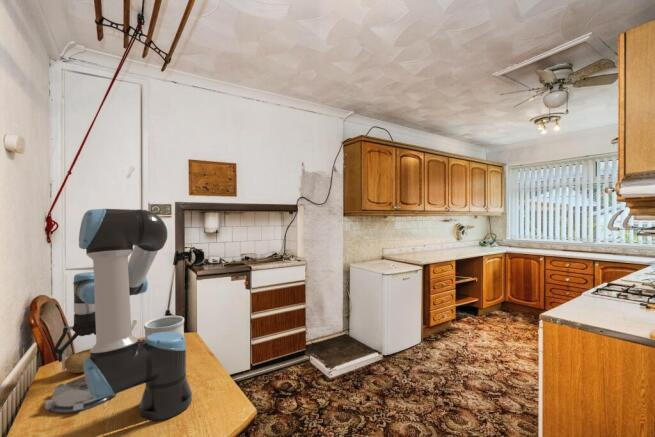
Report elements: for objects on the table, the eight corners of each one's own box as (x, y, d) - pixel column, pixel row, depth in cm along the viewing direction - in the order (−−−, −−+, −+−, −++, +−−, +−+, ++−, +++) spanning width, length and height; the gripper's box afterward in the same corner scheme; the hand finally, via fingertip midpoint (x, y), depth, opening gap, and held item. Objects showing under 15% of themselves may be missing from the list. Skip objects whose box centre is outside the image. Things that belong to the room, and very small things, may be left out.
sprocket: (56, 420, 89) (56, 397, 89) (36, 398, 100) (36, 377, 100) (134, 386, 107) (134, 367, 107) (110, 371, 118) (110, 353, 118)
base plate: (120, 400, 101) (120, 398, 101) (42, 421, 90) (42, 418, 90) (122, 375, 117) (122, 373, 117) (56, 390, 107) (56, 388, 107)
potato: (112, 364, 126) (112, 344, 126) (73, 381, 113) (73, 359, 113) (97, 360, 130) (97, 341, 130) (58, 375, 117) (58, 355, 117)
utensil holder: (157, 375, 117) (157, 330, 117) (137, 365, 125) (136, 323, 125) (191, 359, 129) (191, 319, 129) (171, 351, 137) (171, 313, 137)
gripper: (123, 304, 131) (124, 353, 131) (46, 314, 117) (46, 368, 117) (123, 309, 124) (123, 360, 125) (41, 320, 111) (41, 377, 111)
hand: (86, 364), depth 121 cm, fingers open, 13 cm apart
